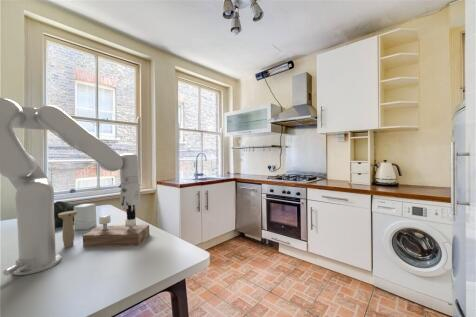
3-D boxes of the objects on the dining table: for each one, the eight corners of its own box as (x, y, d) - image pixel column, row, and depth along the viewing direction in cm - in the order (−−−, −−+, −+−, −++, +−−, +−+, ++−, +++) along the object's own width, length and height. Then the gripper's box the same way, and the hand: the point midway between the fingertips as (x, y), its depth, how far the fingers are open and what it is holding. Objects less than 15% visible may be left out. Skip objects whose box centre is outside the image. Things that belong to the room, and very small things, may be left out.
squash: (79, 209, 132) (58, 195, 124) (86, 214, 122) (64, 199, 114) (58, 228, 124) (34, 214, 116) (63, 235, 115) (38, 220, 106)
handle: (57, 247, 89) (56, 213, 88) (75, 242, 94) (74, 210, 94) (61, 250, 86) (60, 215, 86) (79, 244, 91) (78, 211, 91)
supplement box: (97, 225, 117) (96, 203, 117) (86, 229, 110) (85, 206, 110) (85, 224, 118) (84, 203, 118) (73, 229, 111) (73, 206, 110)
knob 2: (133, 236, 93) (133, 220, 93) (123, 236, 93) (123, 220, 93) (138, 233, 98) (137, 217, 97) (128, 233, 98) (128, 217, 97)
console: (137, 245, 89) (137, 234, 89) (83, 246, 89) (82, 235, 89) (149, 234, 101) (149, 224, 101) (101, 235, 101) (100, 225, 101)
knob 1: (107, 233, 93) (106, 217, 93) (97, 234, 93) (96, 217, 93) (112, 230, 97) (112, 214, 97) (103, 230, 97) (103, 215, 97)
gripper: (129, 182, 87) (131, 224, 88) (144, 178, 102) (146, 213, 103) (111, 182, 87) (113, 224, 88) (129, 178, 102) (131, 214, 103)
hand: (131, 218), depth 95 cm, fingers closed
